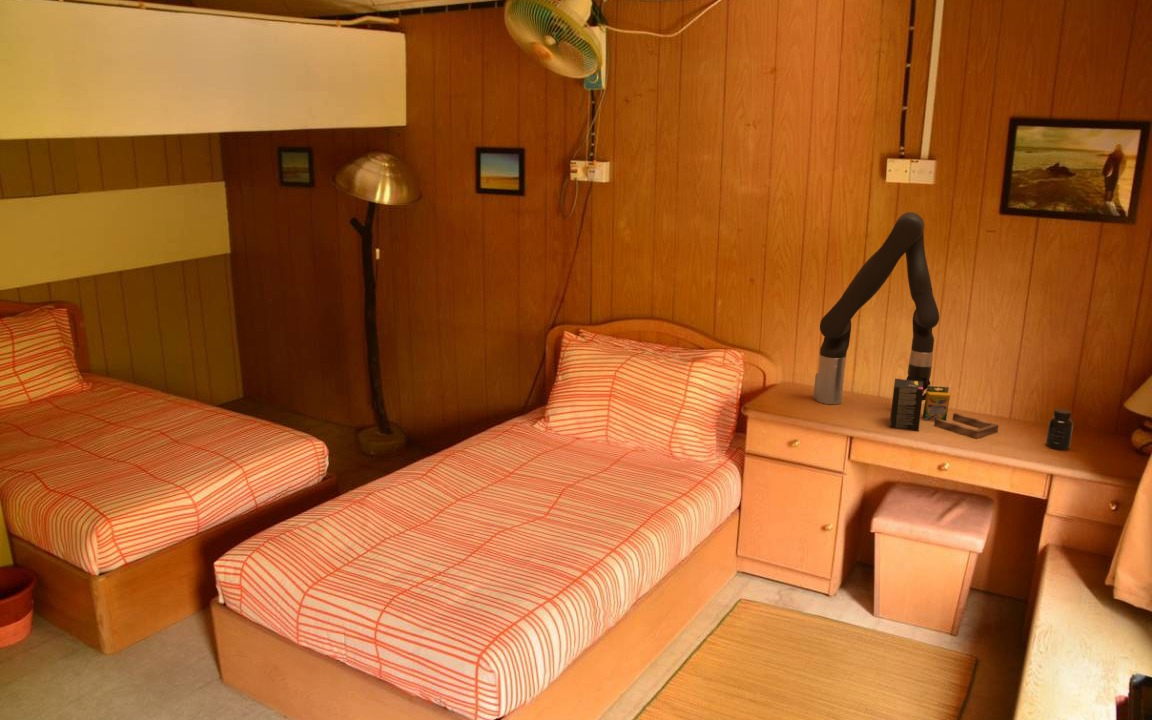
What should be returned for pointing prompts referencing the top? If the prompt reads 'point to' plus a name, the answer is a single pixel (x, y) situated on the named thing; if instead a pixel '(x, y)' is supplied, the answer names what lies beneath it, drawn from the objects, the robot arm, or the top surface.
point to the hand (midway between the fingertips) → (914, 410)
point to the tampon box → (906, 404)
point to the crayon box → (936, 403)
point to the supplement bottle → (1060, 430)
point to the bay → (984, 431)
